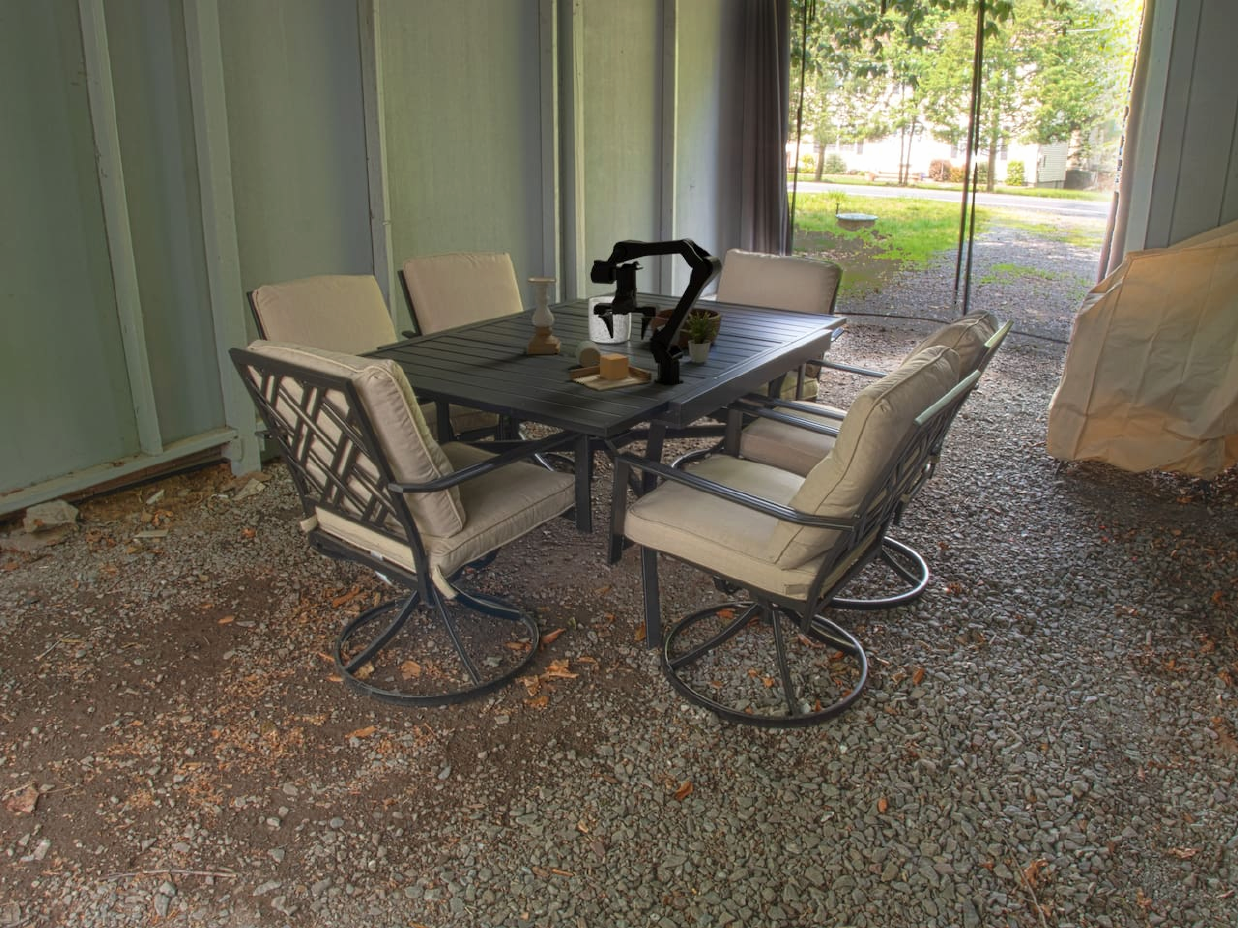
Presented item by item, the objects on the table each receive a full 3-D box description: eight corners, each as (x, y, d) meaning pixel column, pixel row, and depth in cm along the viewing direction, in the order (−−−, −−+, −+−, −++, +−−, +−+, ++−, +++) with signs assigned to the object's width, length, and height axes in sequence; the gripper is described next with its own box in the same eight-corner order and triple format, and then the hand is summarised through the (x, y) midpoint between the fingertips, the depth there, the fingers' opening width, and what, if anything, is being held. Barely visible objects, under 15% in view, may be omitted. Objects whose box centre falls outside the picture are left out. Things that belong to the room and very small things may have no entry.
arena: (651, 381, 254) (651, 372, 253) (599, 391, 244) (599, 381, 243) (620, 371, 266) (620, 362, 265) (570, 379, 257) (569, 370, 256)
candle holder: (559, 354, 289) (556, 281, 281) (526, 354, 289) (522, 281, 281) (561, 346, 299) (559, 276, 291) (529, 347, 299) (526, 276, 291)
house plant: (720, 368, 268) (721, 315, 263) (675, 366, 271) (676, 314, 266) (724, 357, 282) (725, 307, 276) (681, 356, 284) (682, 306, 279)
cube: (617, 373, 261) (616, 353, 258) (628, 377, 256) (628, 357, 254) (600, 376, 257) (599, 356, 255) (611, 380, 253) (611, 359, 251)
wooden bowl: (732, 340, 308) (733, 310, 304) (700, 353, 288) (701, 322, 284) (670, 333, 320) (671, 304, 317) (635, 345, 300) (635, 316, 297)
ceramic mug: (578, 370, 267) (578, 346, 265) (575, 364, 275) (575, 340, 272) (612, 369, 269) (613, 345, 266) (608, 363, 277) (608, 339, 274)
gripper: (586, 288, 246) (588, 343, 251) (650, 290, 240) (650, 346, 246) (598, 283, 256) (600, 335, 261) (660, 284, 250) (660, 338, 256)
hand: (627, 339), depth 255 cm, fingers open, 9 cm apart
